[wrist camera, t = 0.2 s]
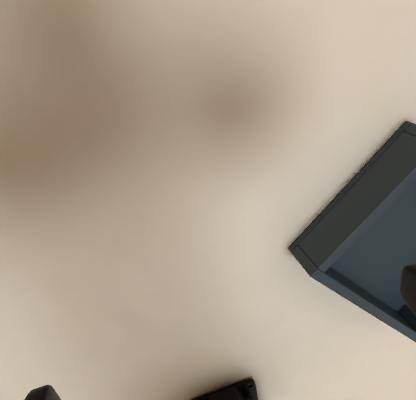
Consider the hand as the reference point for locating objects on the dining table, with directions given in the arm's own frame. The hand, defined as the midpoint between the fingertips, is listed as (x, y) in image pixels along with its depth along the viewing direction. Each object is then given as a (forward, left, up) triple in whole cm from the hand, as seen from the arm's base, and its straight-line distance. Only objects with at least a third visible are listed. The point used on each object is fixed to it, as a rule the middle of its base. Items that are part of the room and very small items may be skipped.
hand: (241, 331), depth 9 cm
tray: (-13, -18, -15) cm, 27 cm away
